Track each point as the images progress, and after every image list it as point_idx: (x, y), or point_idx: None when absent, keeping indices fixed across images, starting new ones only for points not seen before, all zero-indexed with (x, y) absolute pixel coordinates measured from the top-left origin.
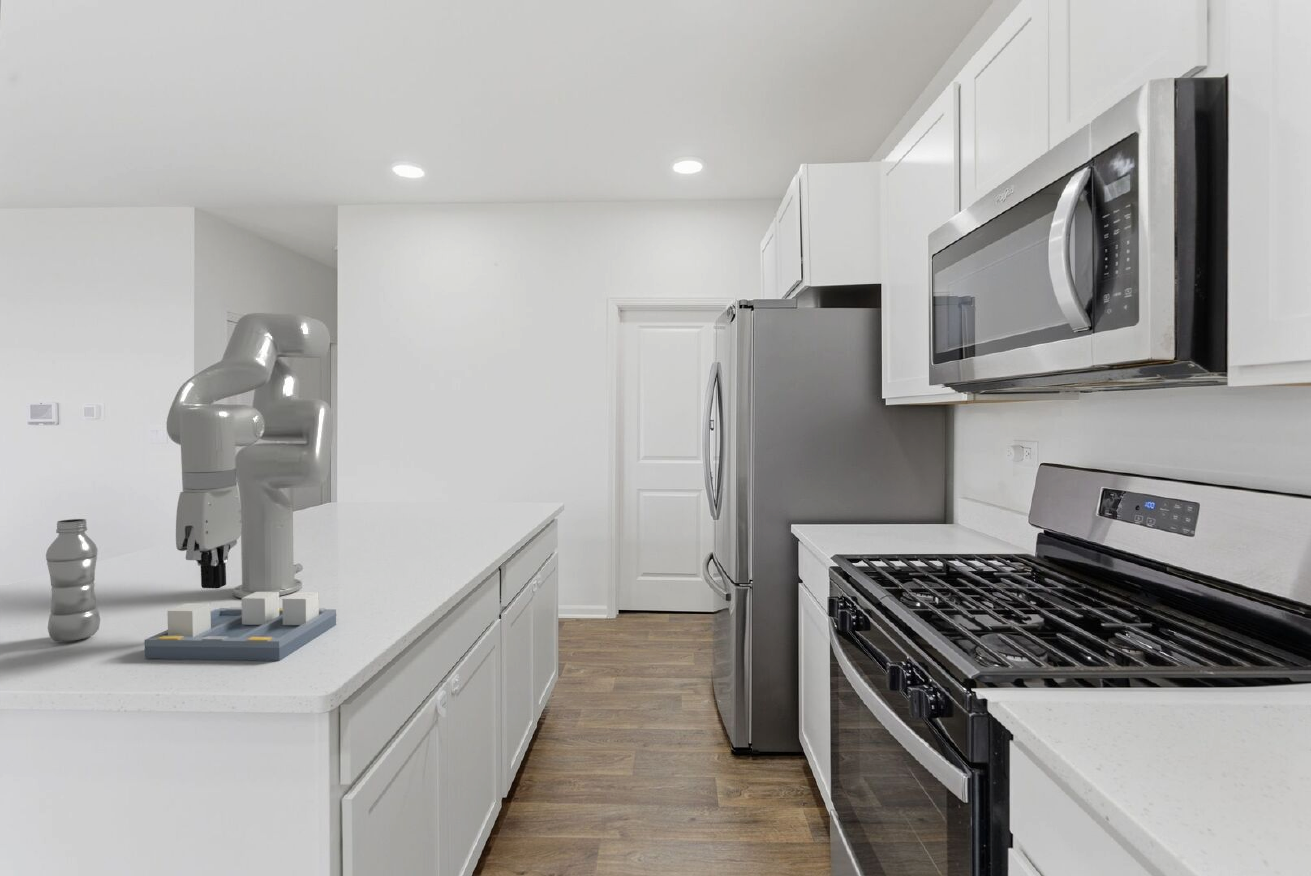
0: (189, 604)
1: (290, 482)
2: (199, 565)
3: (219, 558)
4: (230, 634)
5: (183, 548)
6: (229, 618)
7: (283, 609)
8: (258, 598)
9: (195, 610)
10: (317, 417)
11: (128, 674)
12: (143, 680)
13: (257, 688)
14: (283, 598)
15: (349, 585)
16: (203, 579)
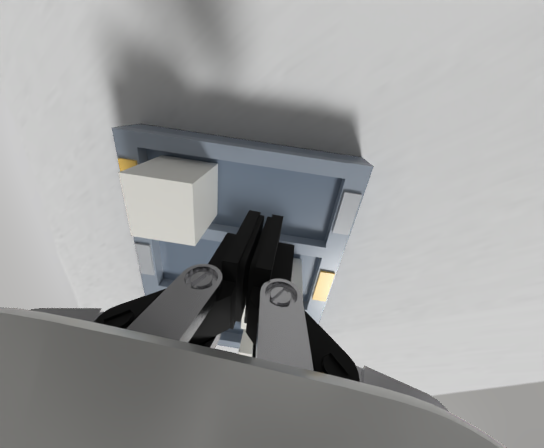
0: (181, 199)
1: None
2: (194, 269)
3: (252, 339)
4: (205, 251)
5: (2, 320)
6: (308, 207)
7: (243, 333)
8: (242, 318)
9: (143, 236)
10: None
11: (75, 144)
12: (66, 185)
13: None
14: (239, 353)
15: None
16: (222, 241)
